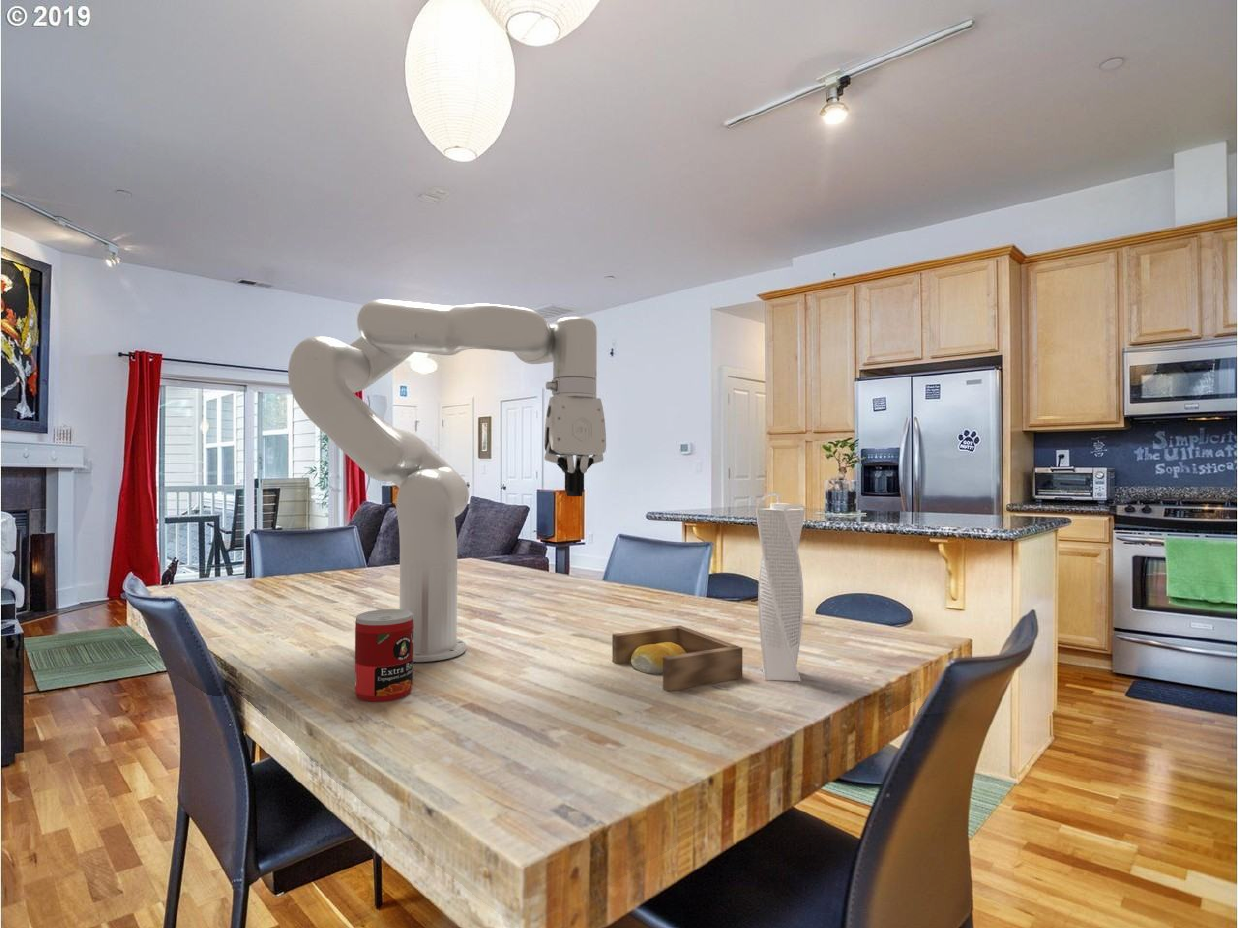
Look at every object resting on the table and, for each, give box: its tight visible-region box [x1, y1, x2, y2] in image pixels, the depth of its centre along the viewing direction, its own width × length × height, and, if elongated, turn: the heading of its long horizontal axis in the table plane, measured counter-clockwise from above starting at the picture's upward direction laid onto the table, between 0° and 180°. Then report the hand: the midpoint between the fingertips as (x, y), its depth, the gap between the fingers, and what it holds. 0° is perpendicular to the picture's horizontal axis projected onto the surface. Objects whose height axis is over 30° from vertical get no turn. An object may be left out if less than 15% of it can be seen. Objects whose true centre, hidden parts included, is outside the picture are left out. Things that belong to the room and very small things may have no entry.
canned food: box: [354, 608, 414, 703], centre depth 91 cm, size 8×8×11 cm
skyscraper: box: [755, 492, 806, 682], centre depth 100 cm, size 8×8×28 cm
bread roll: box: [630, 642, 686, 675], centre depth 104 cm, size 8×9×4 cm
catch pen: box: [611, 625, 743, 692], centre depth 102 cm, size 13×17×4 cm
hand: (574, 495), depth 112 cm, fingers closed
